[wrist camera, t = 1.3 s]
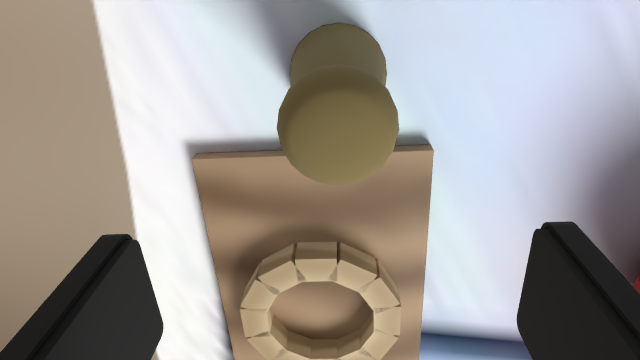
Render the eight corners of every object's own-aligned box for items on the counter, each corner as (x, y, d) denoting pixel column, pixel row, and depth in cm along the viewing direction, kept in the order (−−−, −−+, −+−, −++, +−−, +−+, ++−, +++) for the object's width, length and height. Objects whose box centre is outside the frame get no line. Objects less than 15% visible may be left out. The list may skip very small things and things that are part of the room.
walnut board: (196, 153, 30) (191, 159, 29) (430, 144, 29) (433, 150, 28) (238, 355, 39) (235, 364, 38) (416, 353, 38) (418, 363, 37)
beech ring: (236, 243, 32) (230, 260, 30) (399, 239, 31) (403, 257, 29) (256, 356, 37) (252, 376, 36) (395, 355, 37) (398, 375, 35)
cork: (305, 8, 25) (284, 42, 15) (402, 41, 26) (440, 94, 16) (278, 103, 28) (246, 184, 18) (366, 131, 28) (381, 223, 19)
